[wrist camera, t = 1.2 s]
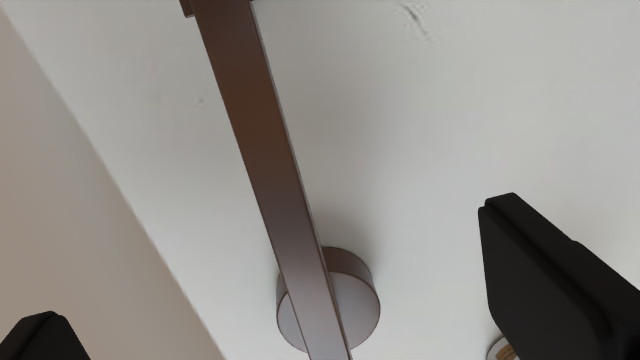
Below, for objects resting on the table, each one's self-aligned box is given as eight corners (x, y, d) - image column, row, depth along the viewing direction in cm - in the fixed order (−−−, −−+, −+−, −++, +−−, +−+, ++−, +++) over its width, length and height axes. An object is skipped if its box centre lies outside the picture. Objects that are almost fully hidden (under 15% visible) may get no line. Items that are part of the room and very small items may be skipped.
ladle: (379, 313, 27) (416, 427, 20) (290, 335, 27) (295, 457, 20) (295, -44, 19) (307, -64, 12) (169, -10, 19) (107, -11, 12)
